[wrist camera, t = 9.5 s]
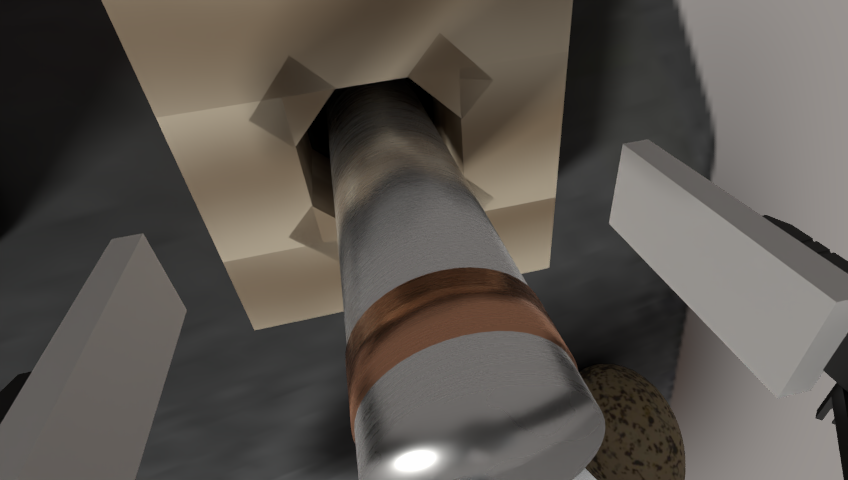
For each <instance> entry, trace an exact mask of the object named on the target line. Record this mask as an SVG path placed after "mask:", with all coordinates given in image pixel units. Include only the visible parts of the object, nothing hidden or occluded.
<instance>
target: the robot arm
mask: <svg viewBox="0 0 848 480" xmlns="http://www.w3.org/2000/svg"><path fill="white" fill-rule="evenodd" d="M609 224H610V225H611V226H612V227H613V228H614V229H615V230H616V231H617V232H618V233H619V234H620V235H621V236H622V238H623V239H624V240H625V241H626V242H627V243H628V244H629V245H630V246H631V247H632V248H633V249H634V250H635V251H636V252H637V253H638V254H639V255H640V256H641V257H642V258H643V259H644V260H645V261H646V262H647V264H648V265H649V266H650V267H651V268H652V269H653V270H654V271H655V272H656V273H657V274H658V275H659V276H660V277H661V278H662V279H663V280H664V281H665V282H666V283H667V284H668V285H669V286H670V287H671V288H672V290H673V291H674V292H675V293H676V294H677V295H678V296H679V297H680V298H681V299H682V300H683V301H684V302H685V303H686V304H687V305H688V306H689V307H690V308H691V309H692V310H693V311H694V312H695V313H696V314H697V316H699V318H700V319H701V320H702V321H703V322H704V323H705V324H706V325H707V326H708V327H709V328H710V329H711V330H712V331H713V332H714V333H715V334H716V335H717V336H718V337H719V338H720V339H721V340H722V341H723V343H724V344H725V345H726V346H727V347H728V348H729V349H730V350H731V351H732V352H733V353H734V354H735V355H736V356H737V357H738V358H739V359H740V360H741V361H742V362H743V363H744V364H745V365H746V366H747V368H749V370H750V371H751V372H752V373H753V374H754V375H755V376H756V377H757V378H758V379H759V380H760V381H761V382H762V383H763V384H764V385H765V386H766V387H767V388H768V389H769V390H770V391H771V392H772V394H774V396H775V397H776V398H777V399H779V398H783V397H787V396H790V395H794V394H798V393H802V392H806V391H810V390H811V389H812V388H813V386H814V385H815V383H816V382H817V380H818V379H819V377H820V376H821V374H822V373H823V371H825V372H826V373H827V374H828V375H829V376H830V377H831V378H833V379H834V380H835V381H836V382H837V383H836V384H835V386H834V387H833V388H832V390H831V391H830V393H829V394H828V395H827V397H826V398H825V400H824V401H823V402H822V404H821V405H820V407H819V408H818V410H817V413H816V418H817V419H820V420H823V419H824V417H825V416H826V414H827V413H828V412H829V410H830V409H832V408H833V411H834V417H835V419H834V420H833V421H832V423H833V424H835V425H836V431H837V438H838V444H839V451H840V457H841V464H842V470H843V477H844V480H848V261H846V260H845V259H843V258H842V257H840V256H839V255H837V254H836V253H830V249H828V248H826V247H825V246H823V245H822V244H820V243H819V242H817V241H816V242H814V241H813V239H812V238H811V237H810V236H808V235H806V234H805V233H803V232H802V231H800V230H799V229H797V228H795V227H794V226H793V225H790V224H788V223H785V222H783V221H780V220H778V219H775V218H773V217H770V216H767V215H764V216H761V215H760V214H758V213H756V212H755V211H753V210H752V209H751V208H749V207H747V206H746V205H745V204H743V203H742V202H740V201H739V200H737V199H736V198H734V197H733V196H731V195H730V194H728V193H727V192H725V191H724V190H722V189H721V188H719V187H718V186H716V185H715V184H713V183H712V182H710V181H709V180H708V179H706V178H705V177H703V176H702V175H700V174H699V173H697V172H696V171H694V170H693V169H691V168H690V167H688V166H687V165H685V164H684V163H682V162H681V161H679V160H678V159H676V158H675V157H673V156H672V155H670V154H669V153H667V152H666V151H664V150H663V149H661V148H660V147H658V146H657V145H655V144H654V143H653V142H651V141H650V140H648V139H647V140H642V141H636V142H631V143H626V144H623V146H622V152H621V158H620V164H619V169H618V175H617V181H616V186H615V192H614V198H613V203H612V209H611V215H610V221H609ZM186 311H187V310H186V308H185V306H184V304H183V303H182V301H181V299H180V297H179V296H178V294H177V292H176V290H175V289H174V287H173V285H172V283H171V282H170V280H169V278H168V276H167V275H166V273H165V271H164V269H163V268H162V266H161V264H160V262H159V261H158V259H157V257H156V255H155V253H154V252H153V250H152V248H151V246H150V245H149V243H148V241H147V239H146V238H145V236H144V234H143V233H142V234H137V235H132V236H126V237H121V238H115V239H111V241H110V243H109V244H108V246H107V248H106V249H105V251H104V253H103V254H102V256H101V258H100V259H99V261H98V263H97V264H96V266H95V268H94V269H93V271H92V273H91V274H90V276H89V278H88V279H87V281H86V283H85V284H84V286H83V288H82V289H81V291H80V293H79V294H78V296H77V298H76V299H75V301H74V303H73V304H72V306H71V308H70V309H69V311H68V313H67V314H66V316H65V318H64V319H63V321H62V323H61V324H60V326H59V328H58V329H57V331H56V333H55V334H54V336H53V337H52V339H51V341H50V342H49V344H48V346H47V347H46V349H45V351H44V352H43V354H42V356H41V357H40V359H39V361H38V362H37V364H36V366H35V367H34V369H33V371H32V372H28V373H23V374H18V375H17V376H16V377H15V378H14V379H13V380H12V381H11V382H10V383H9V384H8V385H7V386H6V387H5V388H4V389H3V390H2V391H1V392H0V480H135V478H136V474H137V471H138V468H139V465H140V461H141V458H142V455H143V451H144V448H145V445H146V442H147V438H148V435H149V432H150V429H151V425H152V422H153V419H154V415H155V412H156V409H157V406H158V402H159V399H160V396H161V393H162V389H163V386H164V383H165V379H166V376H167V373H168V370H169V366H170V363H171V360H172V357H173V353H174V350H175V347H176V343H177V340H178V337H179V334H180V330H181V327H182V324H183V321H184V317H185V314H186Z"/></svg>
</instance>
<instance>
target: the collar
mask: <svg viewBox="0 0 848 480" xmlns="http://www.w3.org/2000/svg"><path fill="white" fill-rule="evenodd" d="M102 2H103V5H104V7H105V9H106V11H107V13H108V15H109V18H110V20H111V22H112V24H113V26H114V28H115V30H116V33H117V35H118V37H119V39H120V41H121V43H122V46H123V48H124V50H125V52H126V54H127V56H128V59H129V61H130V63H131V65H132V67H133V69H134V71H135V74H136V76H137V78H138V80H139V82H140V84H141V87H142V89H143V91H144V93H145V95H146V97H147V99H148V102H149V104H150V106H151V108H152V110H153V112H154V115H155V117H156V119H157V121H158V123H159V125H160V127H161V130H162V132H163V134H164V136H165V138H166V140H167V143H168V145H169V147H170V149H171V151H172V153H173V155H174V158H175V160H176V162H177V164H178V166H179V168H180V171H181V173H182V175H183V177H184V179H185V181H186V183H187V186H188V188H189V190H190V192H191V194H192V196H193V199H194V201H195V203H196V205H197V207H198V209H199V212H200V214H201V216H202V218H203V220H204V222H205V224H206V227H207V229H208V231H209V233H210V235H211V237H212V240H213V242H214V244H215V246H216V248H217V250H218V252H219V255H220V257H221V259H222V261H223V263H224V265H225V268H226V270H227V272H228V274H229V276H230V278H231V280H232V283H233V285H234V287H235V289H236V291H237V293H238V296H239V298H240V300H241V302H242V304H243V306H244V308H245V311H246V313H247V315H248V317H249V319H250V321H251V324H252V326H253V328H254V330H258V329H263V328H268V327H272V326H277V325H282V324H286V323H291V322H296V321H301V320H305V319H310V318H315V317H319V316H324V315H329V314H334V313H338V312H343V311H344V309H343V297H342V286H341V275H340V264H339V252H338V241H337V230H336V218H335V207H334V196H333V185H332V173H331V162H330V159H329V158H327V157H325V156H324V155H322V154H320V153H319V152H317V151H315V150H314V149H312V147H311V143H310V139H309V136H308V132H307V129H308V128H309V126H310V125H311V123H312V122H313V120H314V119H315V117H316V116H317V114H318V113H319V112H320V110H321V109H322V107H323V106H324V104H325V103H326V101H327V100H328V98H329V97H330V95H331V94H332V92H333V91H334V89H337V88H344V87H350V86H356V85H362V84H369V83H375V82H381V81H387V80H393V79H400V78H406V77H409V78H410V79H411V80H413V81H414V82H415V83H417V84H418V85H419V86H420V87H422V88H423V89H424V90H426V91H427V92H428V93H429V94H431V95H432V101H433V113H434V124H435V127H436V129H437V131H438V133H439V134H440V136H441V138H442V139H443V141H444V143H445V145H446V146H447V148H448V150H449V151H450V153H451V155H452V157H453V158H454V160H455V162H456V163H457V165H458V167H459V168H460V170H461V172H462V174H463V175H464V177H465V179H466V180H467V182H468V184H469V186H470V187H471V189H472V191H473V192H474V194H475V196H476V198H477V199H478V201H479V203H480V204H481V206H482V208H483V209H484V211H485V213H486V215H487V216H488V218H489V220H490V221H491V223H492V225H493V227H494V228H495V230H496V232H497V233H498V235H499V237H500V239H501V240H502V242H503V244H504V245H505V247H506V249H507V250H508V252H509V254H510V256H511V257H512V259H513V261H514V262H515V264H516V266H517V268H518V269H519V271H520V273H521V274H522V273H527V272H532V271H537V270H541V269H546V268H549V264H550V253H551V242H552V230H553V219H554V208H555V197H556V185H557V174H558V163H559V152H560V141H561V129H562V118H563V107H564V96H565V84H566V73H567V62H568V51H569V39H570V28H571V17H572V6H573V0H102Z"/></svg>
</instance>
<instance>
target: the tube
mask: <svg viewBox="0 0 848 480" xmlns="http://www.w3.org/2000/svg"><path fill="white" fill-rule="evenodd" d="M326 117H327V128H328V140H329V151H330V162H331V173H332V185H333V196H334V207H335V218H336V230H337V241H338V252H339V264H340V275H341V286H342V297H343V309H344V320H345V331H346V342H347V347H346V373H347V385H348V397H349V409H350V421H351V432H352V436H353V440H354V443H355V445H356V455H357V466H358V477H359V480H572V479H574V478H575V477H576V476H577V475H578V474H579V473H580V472H581V471H582V470H583V469H584V468H585V467H586V466H587V465H588V464H589V463H590V462H591V460H592V459H593V458H594V456H595V455H596V453H597V452H598V450H599V448H600V446H601V444H602V441H603V438H604V434H605V419H604V416H603V413H602V411H601V409H600V408H599V406H598V404H597V403H596V401H595V399H594V397H593V396H592V394H591V392H590V391H589V389H588V387H587V385H586V384H585V382H584V380H583V379H582V377H581V375H580V374H579V372H578V367H577V364H576V362H575V359H574V357H573V356H572V354H571V352H570V351H569V349H568V347H567V346H566V344H565V342H564V341H563V339H562V337H561V335H560V334H559V332H558V330H557V329H556V327H555V325H554V324H553V322H552V320H551V319H550V317H549V315H548V314H547V312H546V310H545V308H544V307H543V305H542V303H541V302H540V300H539V299H538V297H537V296H536V294H535V293H534V291H533V290H532V289H531V288H530V287H529V286H528V285H527V283H526V281H525V280H524V278H523V276H522V274H521V273H520V271H519V269H518V268H517V266H516V264H515V262H514V261H513V259H512V257H511V256H510V254H509V252H508V250H507V249H506V247H505V245H504V244H503V242H502V240H501V239H500V237H499V235H498V233H497V232H496V230H495V228H494V227H493V225H492V223H491V221H490V220H489V218H488V216H487V215H486V213H485V211H484V209H483V208H482V206H481V204H480V203H479V201H478V199H477V198H476V196H475V194H474V192H473V191H472V189H471V187H470V186H469V184H468V182H467V180H466V179H465V177H464V175H463V174H462V172H461V170H460V168H459V167H458V165H457V163H456V162H455V160H454V158H453V157H452V155H451V153H450V151H449V150H448V148H447V146H446V145H445V143H444V141H443V139H442V138H441V136H440V134H439V133H438V131H437V129H436V127H435V126H434V124H433V122H432V121H431V119H430V117H429V116H428V114H427V112H426V110H425V109H424V107H423V105H422V104H421V102H420V100H419V98H418V97H417V95H416V93H415V92H414V90H413V88H412V87H411V85H410V84H409V82H408V81H407V80H406V79H405V78H400V79H393V80H387V81H381V82H375V83H369V84H362V85H356V86H350V87H344V88H337V89H334V91H333V92H332V94H331V95H330V97H329V98H328V100H327V105H326Z"/></svg>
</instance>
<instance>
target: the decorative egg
mask: <svg viewBox="0 0 848 480" xmlns="http://www.w3.org/2000/svg"><path fill="white" fill-rule="evenodd" d="M579 374H580V375H581V377H582V379H583V380H584V382H585V384H586V385H587V387H588V389H589V391H590V392H591V394H592V396H593V397H594V399H595V401H596V403H597V404H598V406H599V408H600V409H601V411H602V413H603V416H604V419H605V434H604V438H603V441H602V444H601V446H600V448H599V450H598V452H597V453H596V455H595V456H594V458H593V459H592V460H591V462H590V463H589V464H588V465H587V466H586V467H585V468H586V469H587V470H588V471H589V472H590V473H591V474H592V475H593V476H594V477H595V478H596V479H597V480H684V479H685V451H684V444H683V440H682V435H681V431H680V429H679V426H678V423H677V420H676V418H675V416H674V413H673V412H672V410H671V408H670V406H669V404H668V403H667V401H666V400H665V398H664V397H663V396H662V394H661V393H660V392H659V391H658V390H657V388H656V387H655V386H654V385H652V384H651V383H650V382H649V381H648V380H647V379H645V378H644V377H642V376H641V375H640V374H638V373H636V372H635V371H633V370H631V369H628V368H625V367H622V366H619V365H615V364H597V365H592V366H589V367H587V368H585V369H583V370H581V371H580V372H579Z"/></svg>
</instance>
